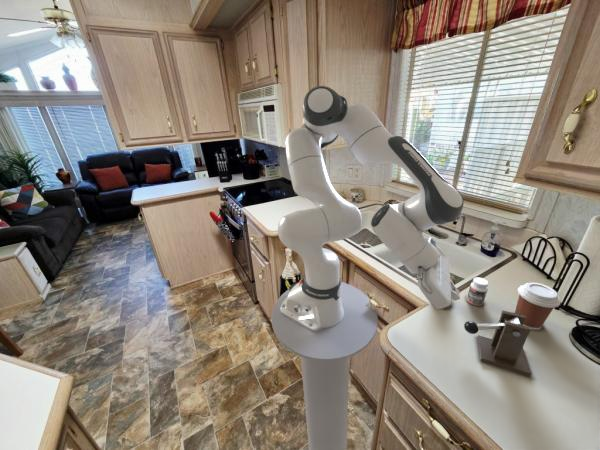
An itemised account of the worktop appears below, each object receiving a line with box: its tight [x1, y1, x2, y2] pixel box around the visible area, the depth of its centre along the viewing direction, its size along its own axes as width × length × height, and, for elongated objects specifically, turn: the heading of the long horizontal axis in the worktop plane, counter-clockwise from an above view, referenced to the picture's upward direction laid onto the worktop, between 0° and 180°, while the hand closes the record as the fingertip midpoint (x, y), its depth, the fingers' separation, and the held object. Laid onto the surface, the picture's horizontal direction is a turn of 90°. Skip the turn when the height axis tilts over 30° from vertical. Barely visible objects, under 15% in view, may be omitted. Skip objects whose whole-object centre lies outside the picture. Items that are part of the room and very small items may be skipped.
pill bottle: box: [466, 276, 489, 306], centre depth 82 cm, size 5×5×8 cm
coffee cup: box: [514, 281, 562, 331], centre depth 73 cm, size 9×9×12 cm
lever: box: [463, 318, 521, 335], centre depth 64 cm, size 12×3×3 cm, turn 62°
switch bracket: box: [476, 310, 533, 377], centre depth 63 cm, size 10×8×13 cm
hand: (457, 296), depth 64 cm, fingers closed
